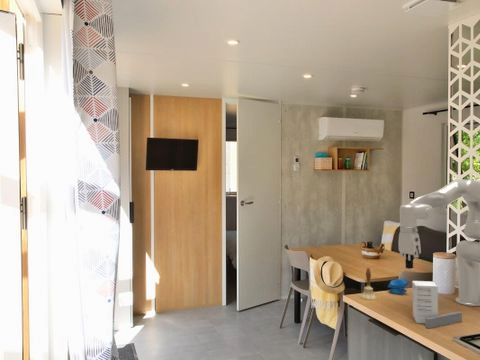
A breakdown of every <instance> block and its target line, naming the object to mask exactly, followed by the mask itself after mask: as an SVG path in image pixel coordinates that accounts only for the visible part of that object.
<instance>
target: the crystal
mask: <svg viewBox="0 0 480 360" xmlns="http://www.w3.org/2000/svg"><path fill="white" fill-rule="evenodd" d="M409 283H410V282H409V281H408V280H406V279H404V278H403V277H400V278H397V279H392V280H390V282H389V284H388V285H387V287H388V288H389V290H388V291H389V292H390V293H391V294H399V295H403V294H405V293H406V292H408V290H406V289H405V288H406V287H407V286H408V285H409Z"/></svg>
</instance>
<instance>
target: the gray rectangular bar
mask: <svg viewBox="0 0 480 360" xmlns="http://www.w3.org/2000/svg"><path fill="white" fill-rule="evenodd" d="M425 321H426V324H425V328H426V329H428V328H429V329H432V328H433V329H434V328H437V327H438V328H439V327H442V326H447V325H452V324H456V323H461V322H463V313H462V312H461V311H454V312H453V311H452V312H449V313H444V314H440V315H439V314H438V316H434V317H429V318H425Z"/></svg>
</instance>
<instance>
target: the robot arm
mask: <svg viewBox="0 0 480 360" xmlns="http://www.w3.org/2000/svg"><path fill="white" fill-rule="evenodd" d="M461 197H463V199H464V201H465V203H466V205H467V207H468V213H467V218H466V221H465V226H464V228H463V230H464V231H463V234H464V236H465V237H466V238H468V239H472V240H478V241H479V242H478V241H472V240H461V241H459V242H458V243H457V244H456V246H455V253H456V258H457V264H458V265H457V267H458V269H457V271H458V275H457V276H458V296H457V297H456V298H455V302H456V303H458V304H460V305H464V306H471V307H480V265H479V263H480V181H478V180H475V179H468V178H467V179H454V180H452V181H451V182H449V183H448V184H446V185H444V186H443V187H441V188H439V189H438V190H436V191H433V192H430V193H427V194H424V195H422V196H419V197H417V198H415V199H413V200H412V201H410V202H409V203H407V204H402V205H400V206H399V234H398V251H399V254H400V255H401V256H403V259H404V260H405V268H406V269H408V270H409V269H414V260H415V259H417V258H419V257H420V256H419V255H420V254H421V253H422V250H421V249H422V248H421V239H420V235H419V233H418V231H419V229H418V224H417V223H418V221H417V220H429V219H431V218H432V217H434V213H435V209H436V208H442V207H446V206H449V205H450V204H452V203H453V202H454V201H456V200H458V199H460V198H461ZM434 208H435V209H434Z"/></svg>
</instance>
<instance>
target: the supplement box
mask: <svg viewBox="0 0 480 360" xmlns="http://www.w3.org/2000/svg"><path fill="white" fill-rule="evenodd" d="M411 285H412V288H411V289H412V317H413V318H414V321H415V323H416V324H425V325H426V321H425V318H429V317H434V316H439V300H438V299H439V296H438V295H439V293H438V292H439V289H438V286H437V284H436V283H435V282H434V281H430V280H428V281H426V280H425V281H424V280H412V282H411Z"/></svg>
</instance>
